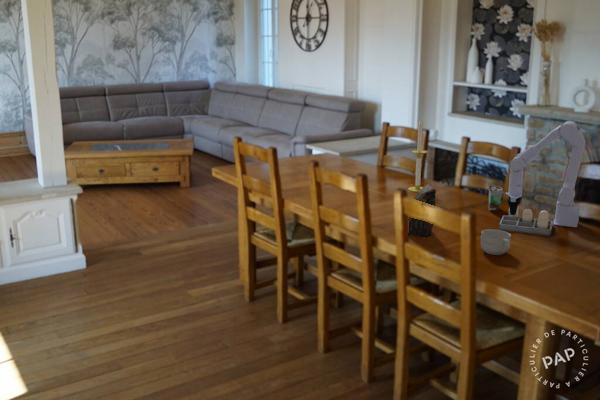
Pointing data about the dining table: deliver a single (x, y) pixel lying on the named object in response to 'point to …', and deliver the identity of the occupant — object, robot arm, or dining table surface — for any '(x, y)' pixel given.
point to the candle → (418, 160)
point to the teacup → (495, 241)
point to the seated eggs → (542, 218)
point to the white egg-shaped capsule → (515, 214)
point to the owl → (420, 226)
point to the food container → (494, 197)
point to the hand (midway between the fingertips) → (513, 213)
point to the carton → (523, 226)
